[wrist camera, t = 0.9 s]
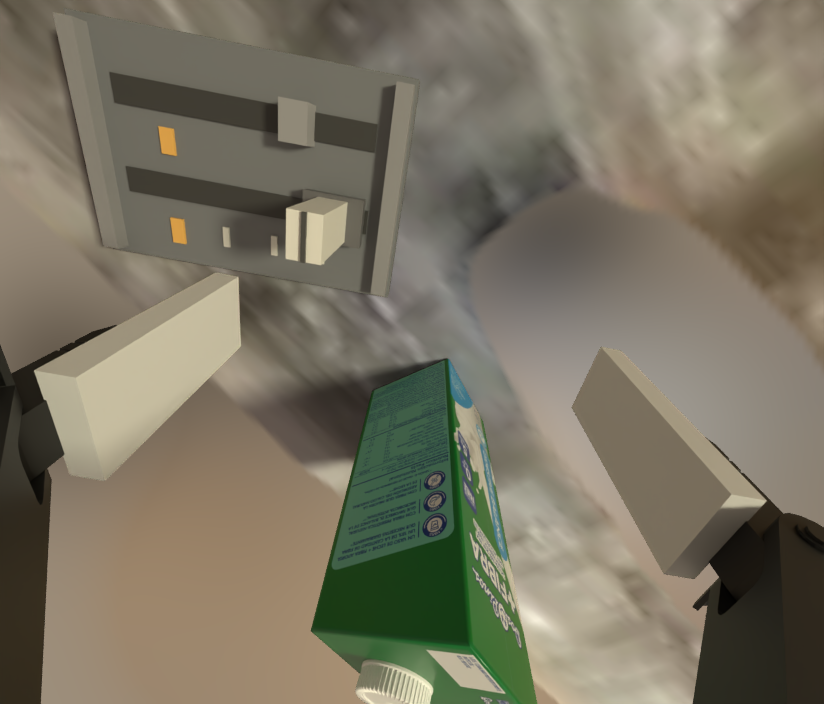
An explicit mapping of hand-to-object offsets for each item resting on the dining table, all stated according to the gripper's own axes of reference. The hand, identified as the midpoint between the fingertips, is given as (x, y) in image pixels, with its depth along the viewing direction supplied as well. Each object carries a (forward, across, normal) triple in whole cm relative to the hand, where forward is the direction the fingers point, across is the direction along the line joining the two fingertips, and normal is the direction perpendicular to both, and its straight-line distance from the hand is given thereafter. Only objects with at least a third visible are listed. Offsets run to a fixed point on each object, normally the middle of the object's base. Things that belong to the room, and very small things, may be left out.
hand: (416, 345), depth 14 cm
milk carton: (+21, +4, -17) cm, 28 cm away
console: (+21, -14, +2) cm, 25 cm away
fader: (+19, -7, 0) cm, 21 cm away
